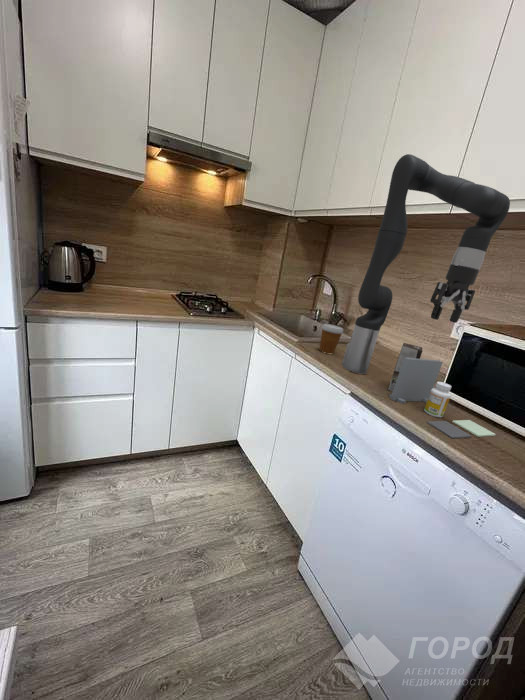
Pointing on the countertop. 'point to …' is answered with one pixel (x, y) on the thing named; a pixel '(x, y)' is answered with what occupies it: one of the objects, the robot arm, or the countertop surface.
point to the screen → (415, 380)
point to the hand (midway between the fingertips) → (443, 320)
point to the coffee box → (405, 352)
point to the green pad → (473, 428)
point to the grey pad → (449, 429)
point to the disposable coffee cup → (330, 337)
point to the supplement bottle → (438, 400)
